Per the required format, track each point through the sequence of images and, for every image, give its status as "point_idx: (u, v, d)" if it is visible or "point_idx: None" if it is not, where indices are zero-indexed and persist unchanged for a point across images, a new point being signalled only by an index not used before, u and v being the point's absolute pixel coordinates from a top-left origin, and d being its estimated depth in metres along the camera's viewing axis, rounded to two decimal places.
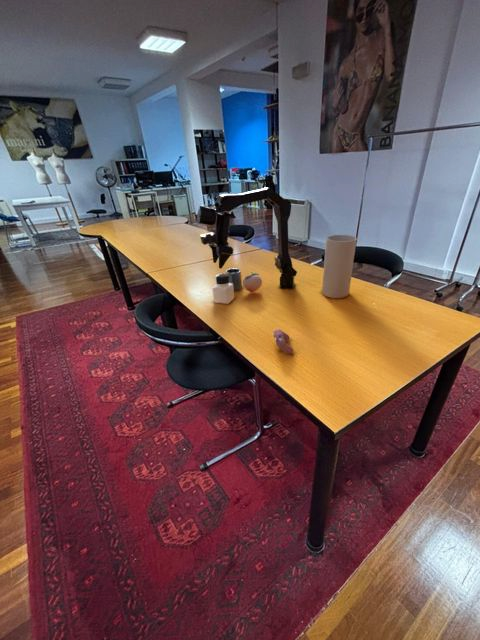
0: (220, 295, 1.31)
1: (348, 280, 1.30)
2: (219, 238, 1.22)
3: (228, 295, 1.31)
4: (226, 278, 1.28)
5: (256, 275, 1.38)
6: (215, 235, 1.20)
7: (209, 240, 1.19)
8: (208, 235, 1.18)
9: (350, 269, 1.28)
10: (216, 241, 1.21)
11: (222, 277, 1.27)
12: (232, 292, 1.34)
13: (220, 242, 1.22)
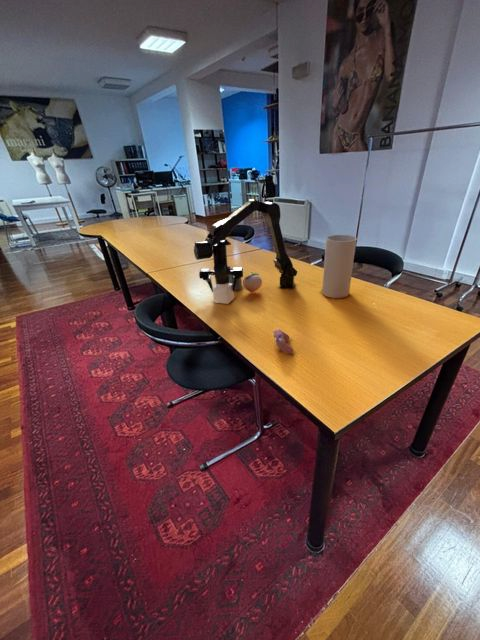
0: (220, 295, 1.31)
1: (348, 280, 1.30)
2: (226, 266, 1.26)
3: (228, 295, 1.31)
4: (226, 278, 1.28)
5: (256, 275, 1.38)
6: (226, 265, 1.24)
7: (230, 272, 1.23)
8: (230, 268, 1.21)
9: (350, 269, 1.28)
10: None
11: None
12: (232, 292, 1.34)
13: None
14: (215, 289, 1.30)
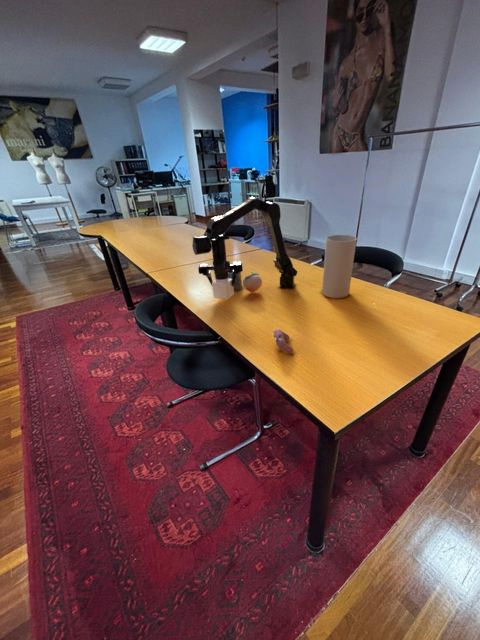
0: (220, 291, 1.30)
1: (348, 280, 1.30)
2: (225, 261, 1.25)
3: (228, 290, 1.30)
4: (225, 273, 1.27)
5: (256, 275, 1.38)
6: (225, 260, 1.23)
7: (229, 266, 1.22)
8: (229, 262, 1.20)
9: (350, 269, 1.28)
10: None
11: None
12: (232, 287, 1.33)
13: None
14: (214, 284, 1.29)
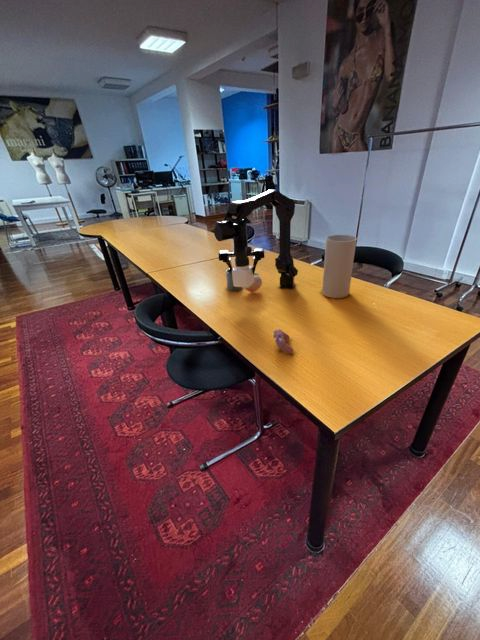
0: (240, 279, 1.24)
1: (348, 280, 1.30)
2: None
3: (248, 278, 1.24)
4: (246, 260, 1.21)
5: (256, 275, 1.38)
6: (246, 245, 1.17)
7: (251, 252, 1.16)
8: (251, 248, 1.15)
9: (350, 269, 1.28)
10: None
11: None
12: (252, 275, 1.28)
13: None
14: (235, 272, 1.24)
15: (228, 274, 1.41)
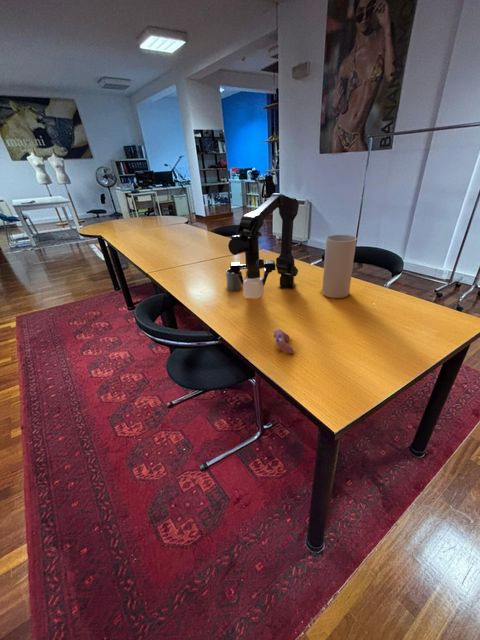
0: (251, 290, 1.26)
1: (348, 280, 1.30)
2: None
3: (259, 290, 1.26)
4: None
5: None
6: (258, 258, 1.19)
7: (263, 265, 1.18)
8: (263, 261, 1.16)
9: (350, 269, 1.28)
10: None
11: None
12: (262, 287, 1.29)
13: None
14: (246, 284, 1.25)
15: (228, 274, 1.41)
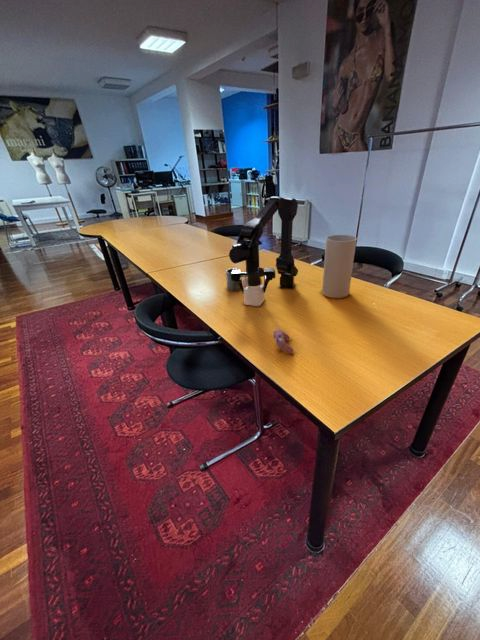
0: (252, 297, 1.28)
1: (348, 280, 1.30)
2: None
3: (260, 297, 1.28)
4: (258, 280, 1.25)
5: None
6: (258, 266, 1.21)
7: (263, 273, 1.20)
8: (263, 269, 1.18)
9: (350, 269, 1.28)
10: None
11: None
12: (263, 294, 1.31)
13: None
14: (246, 291, 1.27)
15: (228, 274, 1.41)
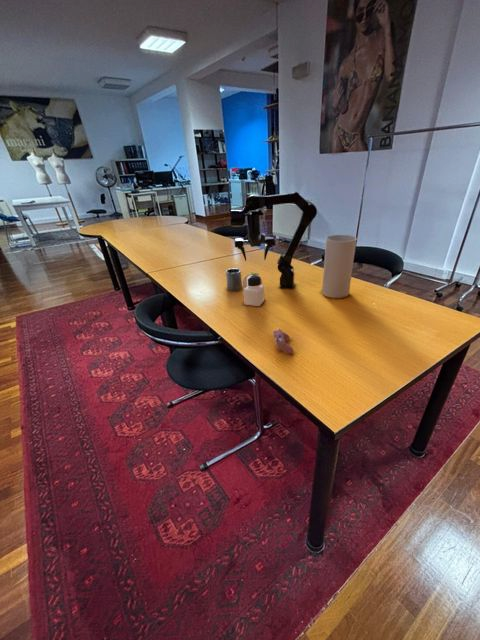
0: (252, 297, 1.28)
1: (348, 280, 1.30)
2: None
3: (260, 297, 1.28)
4: (258, 280, 1.25)
5: None
6: (260, 234, 1.33)
7: (264, 239, 1.32)
8: (264, 235, 1.31)
9: (350, 269, 1.28)
10: None
11: (254, 279, 1.24)
12: (263, 294, 1.31)
13: None
14: (246, 291, 1.27)
15: (228, 274, 1.41)
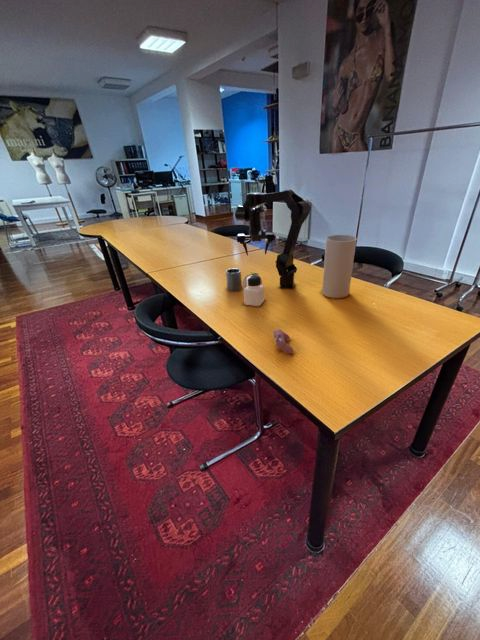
0: (252, 297, 1.28)
1: (348, 280, 1.30)
2: None
3: (260, 297, 1.28)
4: (258, 280, 1.25)
5: None
6: (260, 229, 1.41)
7: (265, 235, 1.40)
8: None
9: (350, 269, 1.28)
10: None
11: (254, 279, 1.24)
12: (263, 294, 1.31)
13: None
14: (246, 291, 1.27)
15: (228, 274, 1.41)
